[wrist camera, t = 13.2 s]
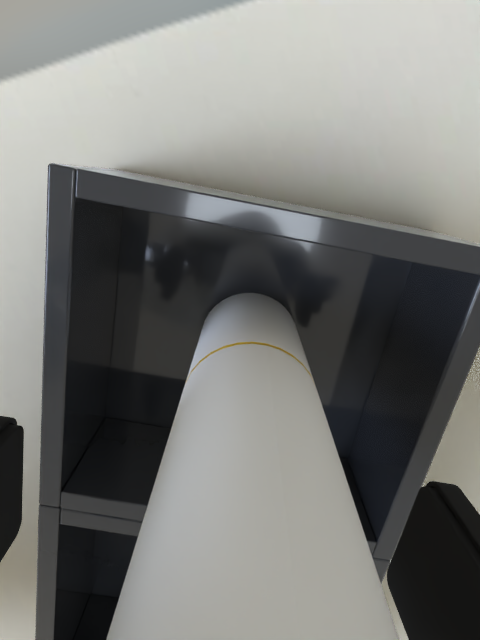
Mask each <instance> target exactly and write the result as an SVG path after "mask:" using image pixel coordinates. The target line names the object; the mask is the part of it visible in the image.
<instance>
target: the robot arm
mask: <svg viewBox="0 0 480 640" xmlns="http://www.w3.org/2000/svg"><path fill="white" fill-rule="evenodd" d="M23 439H24V431H23V427H22V426H18V425H17V422H16V419H14V418H10V417H4V416H0V562H1V560H2V558H3V557H4V555H5V554H6V552H7V551H8V549H9V547H10V546H11V544H12V543H13V541H14V539H15V538H16V536H17V534H18V531H19V529H20V526H21V521H22V484H23ZM387 581H388V586H389V589H390V592H391V594H392V597H393V599H394V602H395V605H396V607H397V610H398V612H399V615H400V618H401V620H402V623H403V625H404V628H405V631H406V633H407V636H408V638H409V640H480V515H479V514H478V512H477V511H476V510H475V508H474V507H473V505H472V504H471V503H470V501H469V500H468V499H467V497H466V496H465V495H464V493H463V492H462V491H461V489H460V488H459V487H458V486H456V485H454V484H447V483H440V482H434V481H432V482H429V483H428V484H427V485H426V487H425V486H424V487H421V488H420V490H419V491H418V494H417V497H416V499H415V502H414V504H413V507H412V509H411V512H410V514H409V517H408V519H407V522H406V524H405V527H404V530H403V532H402V535H401V537H400V540H399V542H398V545H397V547H396V550H395V552H394V555H393V557H392V560H391V563H390V565H389V568H388V571H387Z"/></svg>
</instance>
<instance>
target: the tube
mask: <svg viewBox="0 0 480 640" xmlns="http://www.w3.org/2000/svg"><path fill="white" fill-rule="evenodd" d="M106 640H399V637H398V634H397V631H396V628H395V625H394V622H393V619H392V615H391V612H390V609H389V606H388V603H387V600H386V597H385V594H384V591H383V588H382V585H381V582H380V579H379V576H378V573H377V570H376V567H375V564H374V561H373V558H372V555H371V552H370V549H369V546H368V543H367V540H366V537H365V534H364V531H363V528H362V525H361V522H360V519H359V516H358V513H357V510H356V507H355V504H354V501H353V498H352V495H351V492H350V489H349V486H348V483H347V479H346V476H345V473H344V470H343V467H342V464H341V461H340V458H339V455H338V452H337V449H336V446H335V443H334V440H333V437H332V434H331V431H330V428H329V425H328V422H327V419H326V416H325V413H324V410H323V407H322V404H321V401H320V398H319V395H318V392H317V389H316V386H315V383H314V380H313V377H312V374H311V371H310V368H309V365H308V362H307V359H306V356H305V353H304V350H303V347H302V343H301V340H300V337H299V334H298V331H297V328H296V325H295V323H294V321H293V319H292V316H291V315H290V313H289V312H288V311H287V309H286V308H285V307H284V306H283V305H281V304H280V303H279V302H278V301H276V300H274V299H272V298H271V297H268V296H265V295H262V294H257V293H241V294H237V295H233V296H230V297H228V298H226V299H224V300H222V301H221V302H220V303H218V304H217V305H216V306H215V307H214V308H213V309H212V310H211V311H210V312H209V314H208V316H207V318H206V319H205V321H204V325H203V328H202V331H201V334H200V337H199V341H198V344H197V347H196V350H195V353H194V357H193V360H192V363H191V366H190V370H189V373H188V376H187V379H186V383H185V386H184V389H183V392H182V395H181V399H180V402H179V405H178V408H177V412H176V415H175V418H174V421H173V425H172V428H171V431H170V434H169V438H168V441H167V444H166V447H165V451H164V454H163V457H162V460H161V464H160V467H159V470H158V473H157V477H156V480H155V483H154V486H153V490H152V493H151V496H150V499H149V503H148V506H147V509H146V512H145V516H144V519H143V522H142V525H141V529H140V532H139V535H138V538H137V542H136V545H135V548H134V551H133V555H132V558H131V561H130V564H129V568H128V571H127V574H126V577H125V580H124V584H123V587H122V590H121V593H120V597H119V600H118V603H117V606H116V610H115V613H114V616H113V619H112V623H111V626H110V629H109V632H108V636H107V639H106Z"/></svg>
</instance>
